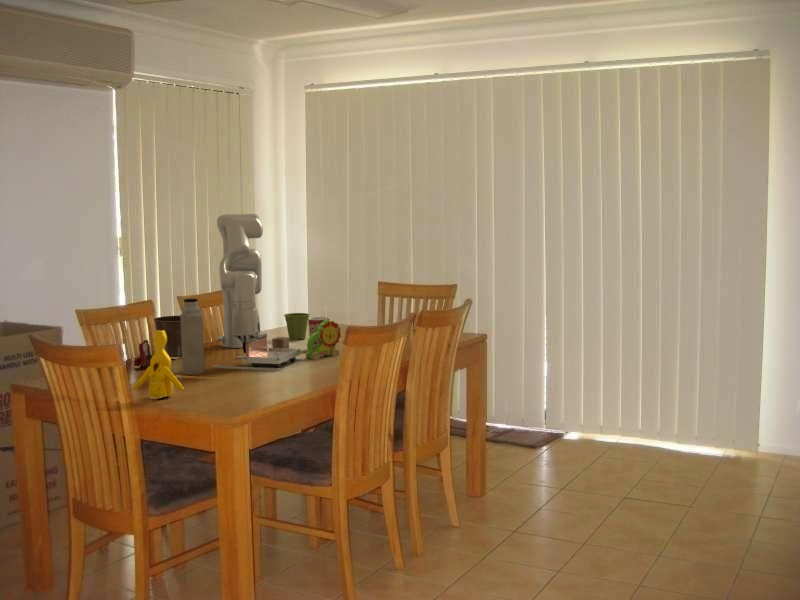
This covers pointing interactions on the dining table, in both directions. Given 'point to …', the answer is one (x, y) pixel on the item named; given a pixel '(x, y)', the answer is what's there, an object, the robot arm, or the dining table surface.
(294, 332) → the plant pot
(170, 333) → the plant pot
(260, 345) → the grey l-shaped piece
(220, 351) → the dining table surface
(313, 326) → the mug
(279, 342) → the walnut block
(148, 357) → the toy fire truck
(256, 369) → the grey flat rectangular piece
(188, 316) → the thermos bottle
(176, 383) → the figure statuette
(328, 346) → the toy lion
